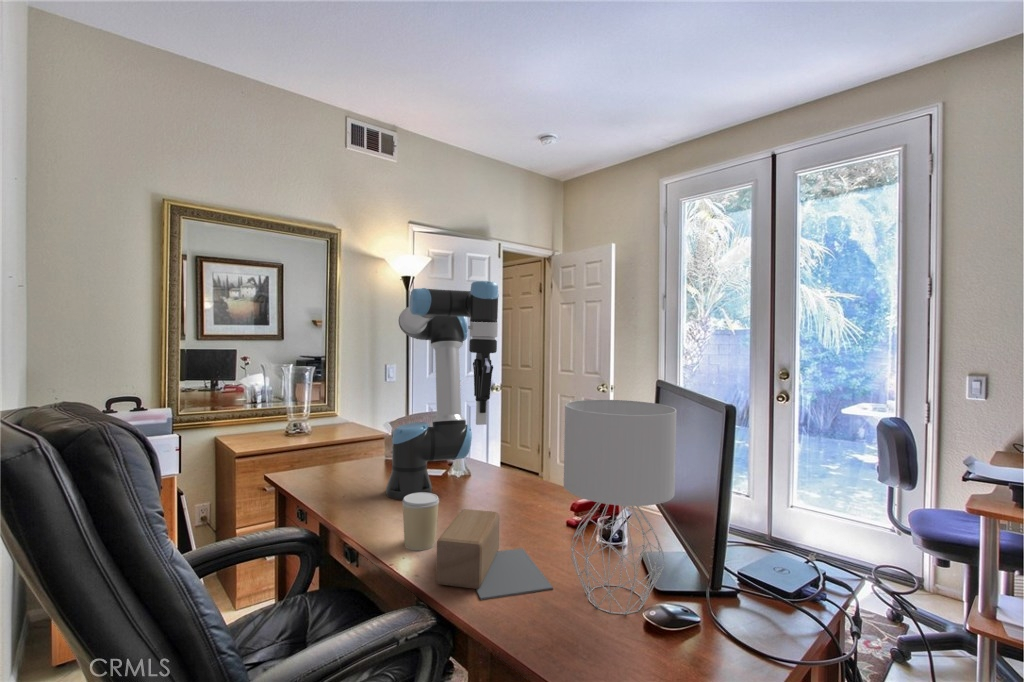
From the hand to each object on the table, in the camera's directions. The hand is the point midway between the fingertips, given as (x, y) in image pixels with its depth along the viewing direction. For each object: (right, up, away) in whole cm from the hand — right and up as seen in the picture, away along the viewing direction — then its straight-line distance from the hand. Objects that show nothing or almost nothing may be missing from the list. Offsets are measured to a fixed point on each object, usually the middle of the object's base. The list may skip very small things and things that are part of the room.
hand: (481, 424), depth 134 cm
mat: (+7, -30, -22) cm, 38 cm away
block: (+1, -25, -11) cm, 27 cm away
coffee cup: (-15, -30, -8) cm, 34 cm away
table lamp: (+30, -31, -33) cm, 54 cm away
